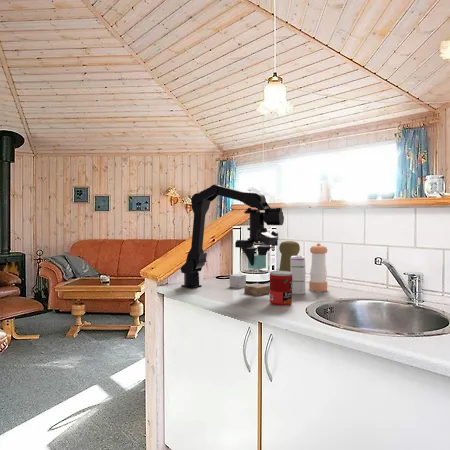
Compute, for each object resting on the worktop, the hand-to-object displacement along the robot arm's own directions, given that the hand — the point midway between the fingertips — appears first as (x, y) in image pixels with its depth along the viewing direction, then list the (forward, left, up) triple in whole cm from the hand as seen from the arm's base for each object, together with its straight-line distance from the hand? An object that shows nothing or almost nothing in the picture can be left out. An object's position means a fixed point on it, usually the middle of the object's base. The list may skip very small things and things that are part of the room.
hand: (256, 264), depth 159 cm
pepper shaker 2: (+12, +24, -11) cm, 29 cm away
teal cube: (0, 0, -1) cm, 1 cm away
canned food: (+18, -7, -11) cm, 22 cm away
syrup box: (+10, +13, -11) cm, 20 cm away
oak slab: (0, 0, -11) cm, 11 cm away
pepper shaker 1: (-4, +25, -11) cm, 28 cm away
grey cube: (-15, +4, -11) cm, 19 cm away
